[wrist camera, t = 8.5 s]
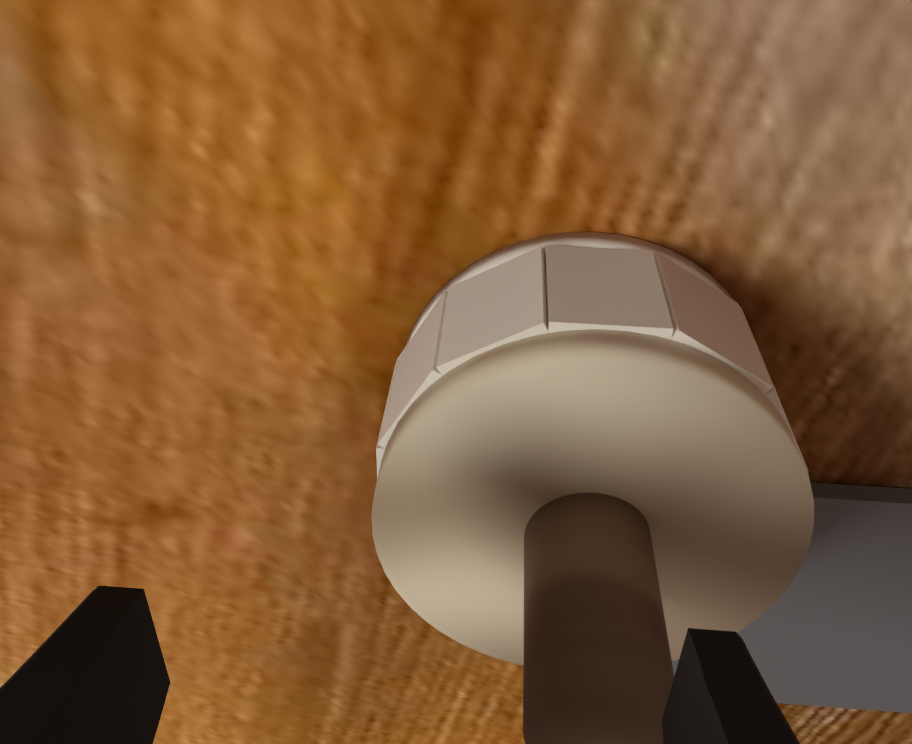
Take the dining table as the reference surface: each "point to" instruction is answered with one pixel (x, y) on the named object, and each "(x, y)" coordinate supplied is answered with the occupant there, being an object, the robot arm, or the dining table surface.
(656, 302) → the bowl
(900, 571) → the mat
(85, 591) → the dining table surface
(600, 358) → the lid
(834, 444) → the dining table surface
